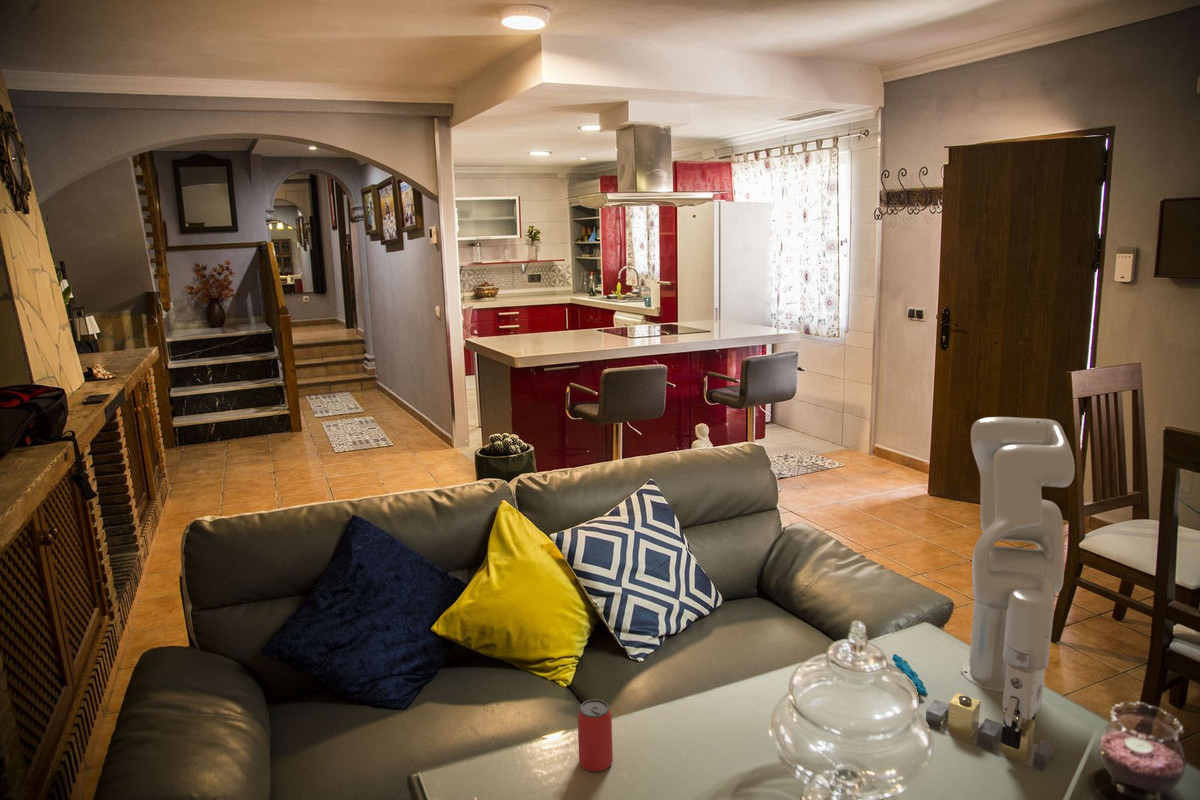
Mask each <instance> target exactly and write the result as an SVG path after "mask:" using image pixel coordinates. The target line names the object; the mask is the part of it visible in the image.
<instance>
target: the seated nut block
mask: <svg viewBox="0 0 1200 800" xmlns="http://www.w3.org/2000/svg"><path fill="white" fill-rule="evenodd" d="M948 704H949V715H948V728H947V729H949V730H951V731H954V732H956V733H959V734H962V735H964V736H967V737H969V738H971V737H972V736H973V734H974V733H975V731H976V730H977V728H978V724H979V723H980V722H979V720H980V710H981V709H980V708H981V700H979V699H976V698H973V697H970V696H968V695H965V694H962V693H961V692H956V693H955V695H953V697H952V699H951V700H950V701H949V703H948Z"/></svg>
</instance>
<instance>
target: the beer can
mask: <svg viewBox="0 0 1200 800" xmlns="http://www.w3.org/2000/svg"><path fill="white" fill-rule="evenodd" d="M612 721H613V719H612V713H611V710H610V706H609V704H608V703H607V702H606V701H605V700H602V699H598V698H597V699H596V698H595V699H594V698H593V699H588V700H585V701H584V702H583V703H581V704H580V706H579V711H578V714H577V735H578V737H577V739H578V742H577V743H578V761H579V765H580V766H581V768H583V769H584V770H586V771H588V772H592V773H593V772H594V773H595V772H596V773H597V772H604V771H605V770H607V769H609V767H610V766H611V765H612V763H613V759H614V758H613V755H614V754H613V722H612Z"/></svg>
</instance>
